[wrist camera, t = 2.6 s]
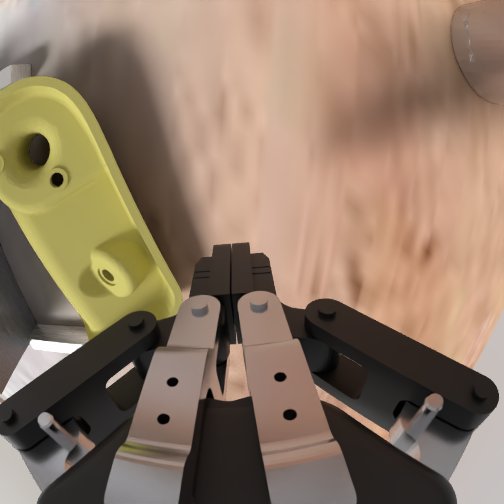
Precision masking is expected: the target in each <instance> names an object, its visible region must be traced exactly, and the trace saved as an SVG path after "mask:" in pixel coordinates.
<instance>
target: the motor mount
mask: <svg viewBox="0 0 504 504" xmlns="http://www.w3.org/2000/svg"><path fill="white" fill-rule="evenodd" d="M28 77H31V64H11V65H9V66H7V67H6V68H4V69H3V70H1V71H0V91H1V90H2V89H4V88H5V87H7V86H9V85H10V84H12V83H14V82H16V81H19V80H22V79H25V78H28ZM88 341H89V340H88V336H87V332H86V328H85V327H77V326H59V325H45V324H37V322H36V320H35V319H34V317H33V315H32V313H31V311H30V309H29V307H28V305H27V303H26V301H25V299H24V297H23V295H22V293H21V291H20V289H19V287H18V285H17V283H16V281H15V279H14V276H13V274H12V272H11V269H10V267H9V265H8V262H7V260H6V257H5V255H4V252H3V250H2V247H1V245H0V394H2V392H3V390H4V388H5V386H6V384H7V382H8V381H9V379H10V377H11V375H12V373H13V371H14V369H15V368H16V366H17V364H18V362H19V360H20V359H21V357H22V355H23V353H24V352H25V350H26V348H27V347H28V345H29V343H31V345H32V346H33V348H34V349H39V350H45V351H53V352H61V353H70V354H71V353H72V352H74V351H75V350H77V349H78V348H79V347H81V346H82V345H84V344H85V343H87V342H88Z"/></svg>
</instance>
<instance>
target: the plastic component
mask: <svg viewBox="0 0 504 504" xmlns="http://www.w3.org/2000/svg"><path fill="white" fill-rule="evenodd" d="M39 134H42V135H44V136H45V137H46V138H47V140H48V142H49V145H50V155H49V158H48V160H47V162H46V163H45V165H37V164H36V163H34V162H33V161H32V159H31V158H30V154H29V148H30V144H31V142H32V140H33V139H34V138H35V137H36V136H37V135H39ZM54 173H60V174H61V175H63V179H64V181H63V184H62V185H60V186H55V185H54V184H53V183H52V179H51V178H52V175H53V174H54ZM0 199H1V201H2V202H3V203H5V204H6V205H7V206H8V207H9V209H10V210H11V212H12V214H13V215H14V217H15V218H16V220H17V222H18V224H19V225H20V227H21V229H22V231H23V232H24V234H25V236H26V238H27V239H28V241H29V243H30V244H31V246H32V247H33V249H34V251H35V252H36V254H37V255H38V257H39V259H40V260H41V262H42V263H43V265H44V266H45V268H46V269H47V271H48V272H49V274H50V275H51V276H52V278H53V279H54V281H55V282H56V284H57V285H58V286H59V288H60V289H61V291H62V292H63V293H64V295H65V296H66V297H67V299H68V300H69V301H70V303H71V304H72V305H73V306H74V308H75V309H76V310H77V312H78V313H79V315H80V317H81V318H82V320H83V323H84V325H85V328H86V332H87V336H88V340H91V339H92V338H94V337H95V336H97V335H98V334H100V333H101V332H102V331H104V330H105V329H107V328H108V327H110V326H111V325H113V324H114V323H115V322H117V321H118V320H120V319H121V318H123V317H124V316H126V315H127V314H129V313H132V312H135V311H148V312H151V313H152V314H154V315H155V317H156V319H157V320H160V319H164V318H168V317H171V316H174V315H176V314H177V313H178V310H179V307H180V305H181V304H182V301H183V300H182V292H181V289H180V287H179V285H178V284H177V282H176V280H175V278H174V276H173V275H172V273H171V271H170V269H169V267H168V265H167V264H166V262H165V260H164V258H163V256H162V254H161V253H160V251H159V249H158V247H157V245H156V243H155V241H154V239H153V237H152V235H151V233H150V232H149V230H148V228H147V226H146V224H145V222H144V220H143V218H142V216H141V214H140V212H139V210H138V208H137V206H136V204H135V202H134V199H133V197H132V195H131V193H130V191H129V189H128V187H127V185H126V183H125V180H124V178H123V176H122V174H121V172H120V169H119V167H118V165H117V163H116V161H115V158H114V156H113V153H112V151H111V149H110V146H109V144H108V142H107V140H106V138H105V136H104V134H103V132H102V130H101V128H100V126H99V124H98V122H97V120H96V118H95V116H94V114H93V112H92V111H91V109H90V107H89V106H88V104H87V102H86V101H85V100H84V99H83V97H82V96H81V95H80V94H79V93H78V92H77V91H76V90H75V89H74V88H73V87H72V86H70V85H69V84H67V83H66V82H64V81H61V80H59V79H56V78H52V77H47V76H35V77H28V78H25V79H22V80H19V81H16V82H14V83H12V84H10V85H9V86H7V87H5V88H4V89H2V90H1V91H0ZM108 271H109V272H110V273H111V274H112V275H111V274H110V273H109V272H108Z"/></svg>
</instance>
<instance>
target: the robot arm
mask: <svg viewBox="0 0 504 504" xmlns="http://www.w3.org/2000/svg"><path fill="white" fill-rule="evenodd" d="M451 38H452V43H453V49H454V52H455V55H456V59H457V61H458V64H459V66H460V68H461V71H462V73H463V74H464V76H465V78H466V80H467V81H468V83H469V84H470V85H471V87H472V88H473V89H474V91H475V92H476V93H478V94H479V95H480V96H481V97H482V98H483V99H485V100H486V101H488V102H491V103H494V104H498V105H503V106H504V0H485V1H480V2H475V3H470V4H466V5H463V6H461V7H459V8H458V9H457V10H456V11H455V14H454V16H453V18H452V24H451ZM236 332H237V340H238V344H242V347H243V356H244V363H245V370H246V377H247V383H248V390H249V397H246V398H242V399H238V400H235V401H226V393H227V383H228V373H229V363H230V360H229V353H230V344H236ZM342 354H343V355H342ZM345 356H346V357H345ZM347 357H348V358H347ZM350 359H351V360H350ZM352 360H353V361H352ZM354 361H355V362H356V363H355V362H354ZM131 362H133V364H134V366H135V367H134V368H133V369H131V370H130V371H129V372H127V373H126V374H125V375H124V376H122V377H121V378H120V379H118V380H117V381H116V382H115V383H113V384H112V385H111V386H109V387H108V388H106V383H107V381H108V380H109V379H110V378H111V377H112V376H114V375H115V374H116V373H118V372H119V371H120V370H122V369H123V368H124V367H125V366H127V365H128V364H129V363H131ZM357 363H358V364H357ZM359 364H360V365H359ZM315 384H316V385H317V386H319V387H320V388H322V389H323V390H324V391H326V392H327V393H329V394H330V395H332V396H333V397H335V398H336V399H338V400H339V401H341V402H342V403H344V404H345V405H347V406H349V407H350V408H352V409H353V410H355V411H356V412H358V413H359V414H361V415H363V416H364V417H366V418H367V419H369V420H371V421H372V422H374V423H375V424H377V425H379V426H380V427H382V428H384V429H385V430H387V431H388V432H389V440H390V443H389V442H388V441H386V440H385V439H383V438H382V437H380V436H379V435H377V434H376V433H374V432H373V431H371V430H370V429H368V428H367V427H365V426H364V425H362V424H361V423H360V422H358V421H357V420H355V419H354V418H352V417H351V416H350V415H348V414H347V413H345V412H344V411H342V410H341V409H339V408H338V407H336V406H334V405H332V404H329V403H327V402H324V401H321V400H320V399H319V396H318V393H317V390H316V387H315ZM498 401H499V393H498V390H497V387H496V385H495V384H494V382H493V381H492V380H491V379H489V378H488V377H486V376H484V375H482V374H480V373H478V372H476V371H474V370H472V369H470V368H468V367H466V366H464V365H462V364H460V363H458V362H456V361H454V360H452V359H451V358H449V357H447V356H445V355H443V354H441V353H439V352H437V351H435V350H433V349H431V348H429V347H427V346H425V345H423V344H421V343H419V342H417V341H415V340H413V339H411V338H409V337H407V336H405V335H403V334H401V333H399V332H397V331H396V330H394V329H392V328H390V327H388V326H386V325H384V324H382V323H380V322H378V321H376V320H374V319H372V318H370V317H368V316H366V315H364V314H362V313H360V312H358V311H356V310H354V309H353V308H351V307H349V306H347V305H345V304H343V303H341V302H339V301H336V300H333V299H318V300H315V301H312V302H311V303H309V304H308V305H307V307H306V309H297V308H292V307H289V306H286V305H284V304H283V303H281V302H280V300H279V298H278V297H277V296H276V291H275V286H274V281H273V276H272V271H271V267H270V261H269V258H268V257H267V256H266V255H264V254H263V253H254V254H250V245H249V242H247V243H234V244H232V248H231V244H222V245H214V246H213V253H212V257H202V258H201V259H200V260H199V261H198V263H197V264H196V266H195V271H194V275H193V280H192V285H191V290H190V295H189V298H188V299H187V300H185V301H184V302H183V303H182V304H181V305H180V307H179V310H178V313H177V314H176V315H174V316H171V317H168V318H164V319H160V320H157V319H156V317H155V315H154V314H152V313H151V312H148V311H135V312H132V313H129V314H127V315H126V316H124V317H123V318H121V319H120V320H118V321H117V322H115V323H114V324H113V325H111V326H110V327H108V328H107V329H105V330H104V331H102V332H101V333H100V334H98V335H97V336H95V337H94V338H92V339H91V340H89V341H88V342H87V343H85V344H84V345H82V346H81V347H79V348H78V349H77V350H75V351H74V352H72V353H71V354H70V355H68V356H67V357H65V358H64V359H62V360H61V361H60V362H58V363H57V364H55V365H54V366H53V367H51V368H50V369H48V370H47V371H46V372H44V373H43V374H41V375H40V376H39V377H37V378H36V379H34V380H33V381H32V382H30V383H29V384H27V385H26V386H25V387H23V388H22V389H21V390H19V391H18V392H16V393H15V394H14V395H12V396H11V397H10V398H8V399H7V400H5V401H4V402H3V403H2V404H0V435H1V436H3V437H4V438H5V439H6V440H7V441H8V442H9V443H11V444H12V446H13V447H14V448H15V449H17V450H18V451H19V452H20V454H21V456H22V458H23V460H24V462H25V464H26V465H27V467H28V469H29V471H30V473H31V474H32V476H33V478H34V480H35V481H36V483H37V485H38V486H39V488H40V490H41V491H42V493H41V495H40V497H39V498H38V501H37V504H457V499H456V495H455V492H454V490H453V487H452V486H451V484H450V483H449V479H450V477H451V475H452V473H453V472H454V470H455V468H456V466H457V464H458V462H459V460H460V458H461V456H462V454H463V452H464V450H465V448H466V446H467V444H468V442H469V440H470V438H471V435H472V433H473V432H474V431H475V430H476V429H477V428H478V426H479V425H480V424H481V423H482V422H483V421H484V420H485V419H486V418H487V417H488V416H489V414H490V413H491V412H492V411H493V410H494V409H495V408H496V406H497V404H498Z"/></svg>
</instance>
